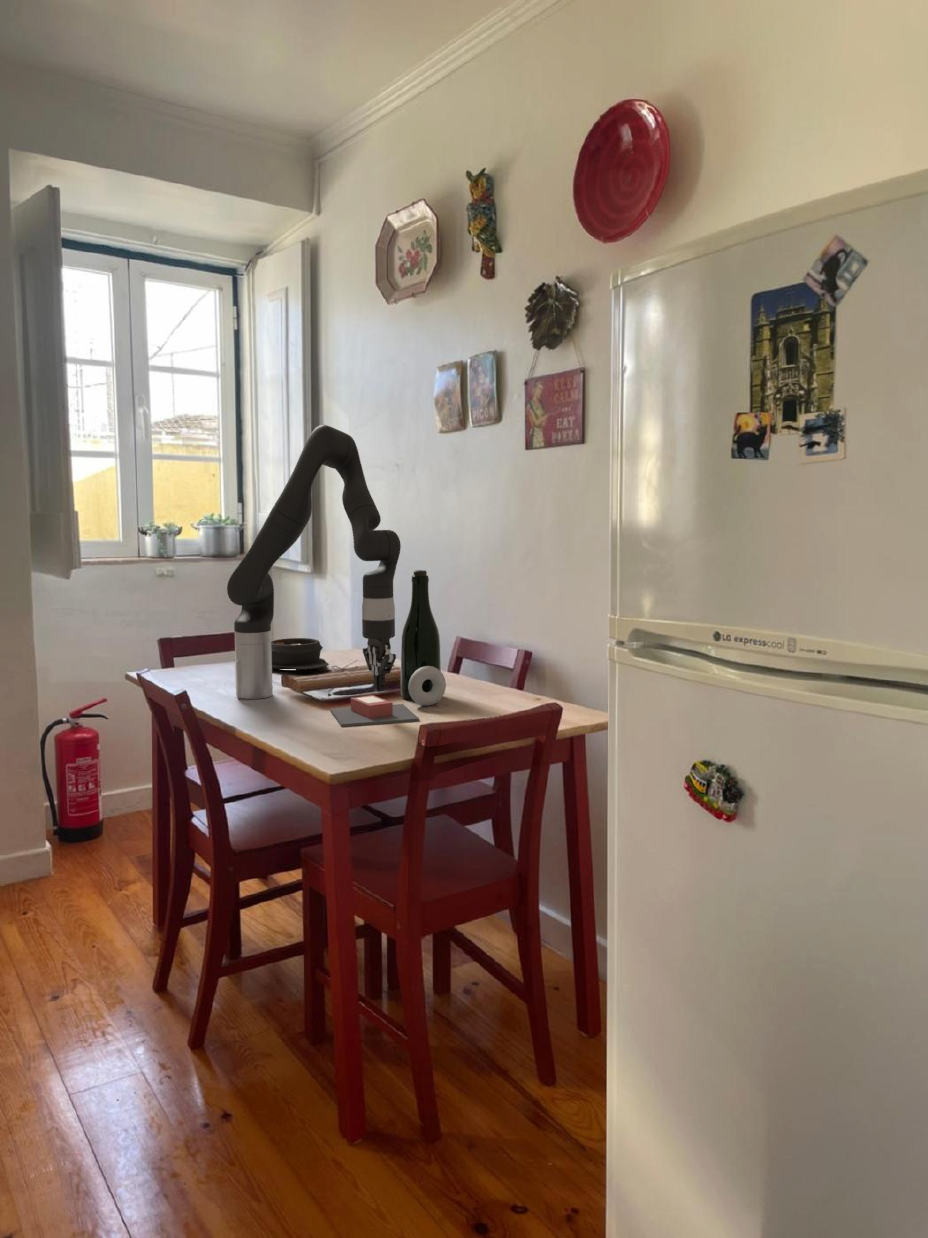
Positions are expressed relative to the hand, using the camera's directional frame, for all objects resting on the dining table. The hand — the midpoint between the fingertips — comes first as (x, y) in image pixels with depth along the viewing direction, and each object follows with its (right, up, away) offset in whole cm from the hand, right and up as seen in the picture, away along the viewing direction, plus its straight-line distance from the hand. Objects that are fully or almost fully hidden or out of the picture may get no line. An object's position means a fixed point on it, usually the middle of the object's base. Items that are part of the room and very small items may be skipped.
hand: (379, 690), depth 209 cm
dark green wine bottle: (+9, -4, +24) cm, 25 cm away
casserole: (-32, +1, +66) cm, 73 cm away
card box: (0, -5, -1) cm, 5 cm away
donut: (+11, -5, +14) cm, 18 cm away
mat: (-2, -6, +3) cm, 7 cm away
